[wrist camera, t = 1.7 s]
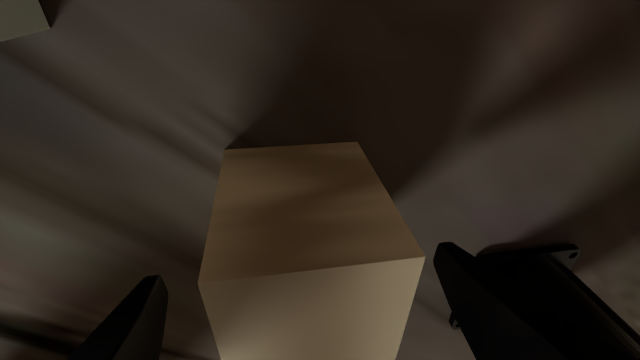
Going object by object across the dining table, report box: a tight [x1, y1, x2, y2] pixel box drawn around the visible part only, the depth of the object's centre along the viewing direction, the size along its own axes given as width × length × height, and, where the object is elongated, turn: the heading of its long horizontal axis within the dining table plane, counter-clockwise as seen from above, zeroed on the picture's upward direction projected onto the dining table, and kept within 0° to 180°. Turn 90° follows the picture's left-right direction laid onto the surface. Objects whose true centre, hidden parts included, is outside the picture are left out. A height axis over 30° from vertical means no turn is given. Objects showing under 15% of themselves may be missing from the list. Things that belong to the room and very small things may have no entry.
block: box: [198, 142, 426, 360], centre depth 11 cm, size 5×5×6 cm
